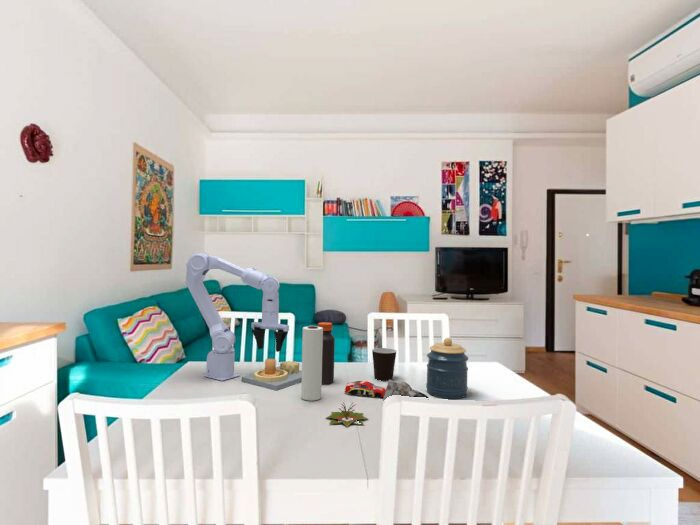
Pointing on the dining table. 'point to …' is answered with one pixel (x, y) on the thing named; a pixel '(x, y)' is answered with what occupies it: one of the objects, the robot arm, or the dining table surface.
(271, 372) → the planet gear
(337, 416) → the lily flower
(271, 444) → the dining table surface
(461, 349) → the canister
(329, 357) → the bottle
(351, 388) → the race car
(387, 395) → the camouflage cap
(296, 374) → the carrier plate
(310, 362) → the paper towel roll
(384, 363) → the coffee mug
